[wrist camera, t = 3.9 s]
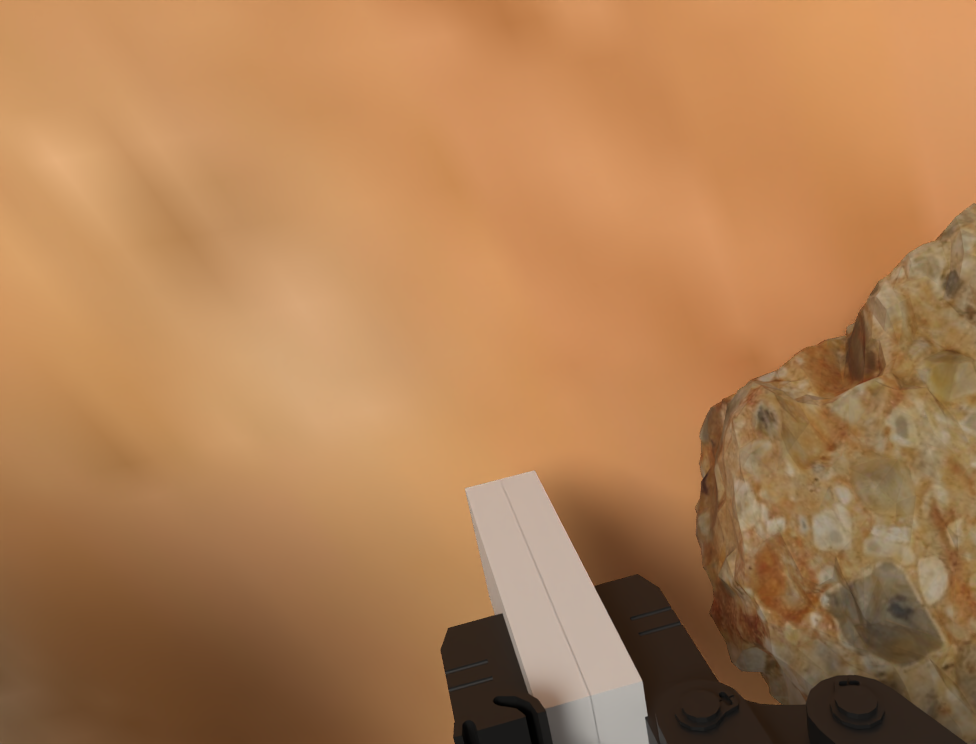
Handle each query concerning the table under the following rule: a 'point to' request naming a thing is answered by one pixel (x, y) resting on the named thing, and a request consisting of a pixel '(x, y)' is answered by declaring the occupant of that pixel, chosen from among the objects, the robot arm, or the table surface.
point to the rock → (857, 498)
